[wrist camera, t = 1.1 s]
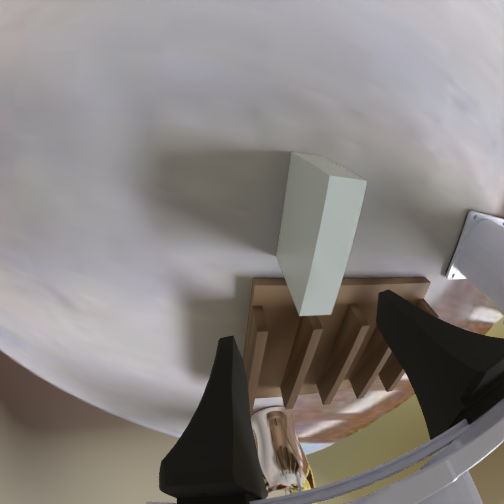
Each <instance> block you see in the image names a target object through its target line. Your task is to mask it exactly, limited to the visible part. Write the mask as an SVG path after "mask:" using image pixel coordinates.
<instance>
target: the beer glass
mask: <svg viewBox="0 0 504 504" xmlns="http://www.w3.org/2000/svg"><path fill="white" fill-rule="evenodd" d="M251 424H252V428H253V430H254V433H255V437H256V444H257V453H258V458H259V462H260V466H261V470H262V474H263V478H264V482H265V485H266V489H267V492H268V496H267V498H266V499H268V498H274V497H279V496H284V495H289V494H293V493H298V492H302V491H306V490H310V489H313V488H316V486H315V481H314V477H313V473H312V470H311V468H310V465H309V463H308V460H307V459H306V456H305V454H304V452H303V450H302V448H301V446H300V443H299V441H298V438H297V435H296V430H295V413H294V411H293V410H292V409H285V407H283V406H275V407H269V408H265V409H262V410H259V411H257V412H256V413H254V414H253V415H252V416H251ZM314 504H318V502H317V503H314Z"/></svg>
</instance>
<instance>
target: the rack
mask: <svg viewBox="0 0 504 504" xmlns="http://www.w3.org/2000/svg"><path fill="white" fill-rule="evenodd" d="M430 283H431V282H430V281H429V280H428V279H427V278H426V277H424V278H372V279H342V282H341V285H340V289H339V292H338V295H337V298H336V301H335V304H334V307H333V310H332V313H331V315H313V316H299V314H298V311H297V309H296V306H295V304H294V301H293V298H292V296H291V293H290V291H289V288H288V285H287V283H286V280H285V279H278V278H253V286H252V294H251V302H250V311H249V319H248V327H247V335H246V343H245V351H244V359H243V362H244V367H245V372H246V377H247V383H248V394H249V405H250V412H252V410H253V405H254V400H255V398H269V397H282V398H283V402H284V407H285V409H293V406H294V404H295V402H296V399H297V397H298V395H303V394H312V393H319V394H320V397H321V400H322V403H323V405H325V404H330V403H331V401H332V399H333V397H334V396H335V394H336V392H337V390H340V389H346V388H353V390H354V392H355V395H356V397H357V399H359V398H363V397H364V396H365V394H366V393H367V391H368V390H369V388H370V386H371V385H372V384H373V383H377V382H378V380H379V379H381V381H382V383H383V385H384V387H385V389H386V391H387V392H389V391H392V390H393V389H394V387H395V386H396V385H397V383H398V382H399V380H400V379H401V378H402V376H403V375H404V373H405V371H404V369H403V368H402V366H401V365H400V363H399V361H398V360H397V358H396V357H395V355H394V354H393V352H392V351H391V349H390V348H389V346H388V345H387V343H386V341H385V340H384V338H383V336H382V334H381V332H380V330H379V328H378V326H377V324H376V315H377V305H378V293H380V292H382V291H385V290H388V289H389V290H391V291H393V292H394V293H396V294H398V295H399V296H401V297H402V298H404V299H406V300H407V301H409V302H410V303H412V304H414V305H415V306H417V307H419V308H420V309H422V310H424V311H426V312H427V313H429V314H431V315H433V316H435V317H437V318H438V317H439V316H438V315H437V314H436V313H435V312H434V310H433V309H432V308H431V307H430V306H429V304H428V303H427V302H426V301H425V300H424V297H425V295H426V292H427V290H428V288H429V286H430Z"/></svg>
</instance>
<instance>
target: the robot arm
mask: <svg viewBox="0 0 504 504" xmlns="http://www.w3.org/2000/svg"><path fill="white" fill-rule="evenodd" d="M446 278H447V279H468V280H469V281H470V282H471V283H472V284H473V285H474V286H475V287H476V288H477V289H478V290H479V291H480V292H481V293H482V294H483V295H484V296H485V297H486V298H487V299H488V300H489V301H490V302H491V303H492V304H493V305H494V306H495V307H496V308H497V309H498V310H499V311H500V312H501V313H502V314H503V315H504V219H503V218H499V217H496V216H492V215H488V214H484V213H480V212H476V211H470V212H469V213H468V216H467V219H466V222H465V225H464V228H463V231H462V234H461V237H460V240H459V243H458V245H457V248H456V251H455V253H454V256H453V259H452V261H451V264H450V266H449V269H448V271H447V273H446ZM376 324H377V326H378V328H379V330H380V332H381V334H382V336H383V338H384V340H385V341H386V343H387V345H388V346H389V348H390V349H391V351H392V352H393V354H394V355H395V357H396V358H397V360H398V361H399V363H400V365H401V366H402V368H403V369H404V371H405V373H406V374H407V376H408V378H409V380H410V383H411V385H412V387H413V389H414V391H415V394H416V396H417V398H418V401H419V404H420V406H421V409H422V412H423V415H424V418H425V421H426V425H427V428H428V432H429V435H430V441H428V442H427V443H425V444H423V445H421V446H419V447H417V448H416V449H414V450H412V451H410V452H408V453H406V454H404V455H402V456H400V457H397V458H395V459H393V460H391V461H389V462H387V463H384V464H382V465H380V466H377V467H375V468H372V469H370V470H367V471H365V472H362V473H360V474H357V475H355V476H352V477H349V478H346V479H343V480H340V481H337V482H334V483H331V484H327V485H324V486H321V487H317V488H313V489H310V490H306V491H302V492H298V493H293V494H289V495H284V496H279V497H274V498H268V499H266V498H267V496H268V492H267V489H266V485H265V482H264V478H263V474H262V470H261V466H260V462H259V458H258V453H257V449H256V445H255V440H254V435H253V430H252V424H251V416H250V405H249V394H248V383H247V377H246V372H245V367H244V362H243V360H242V357H241V355H240V352H239V350H238V347H237V345H236V342H235V339H234V337H233V336H229V337H224V338H220V339H219V341H218V347H217V352H216V357H215V361H214V364H213V368H212V371H211V375H210V378H209V381H208V383H207V386H206V389H205V392H204V394H203V397H202V399H201V401H200V403H199V406H198V408H197V410H196V412H195V414H194V415H193V417H192V419H191V421H190V423H189V425H188V426H187V428H186V429H185V431H184V432H183V434H182V435H181V437H180V438H179V440H178V441H177V443H176V444H175V446H174V447H173V448H172V449H171V451H170V452H169V453H168V454H167V455H166V457H165V458H164V459H163V460H162V461H161V466H160V472H159V488H160V490H161V491H162V492H164V493H166V494H168V495H170V496H173V497H175V498H177V504H314V503H317V502H321V501H324V500H328V499H331V498H334V497H337V496H341V495H343V494H347V493H350V492H352V491H355V490H358V489H361V488H363V487H366V486H368V485H371V484H373V483H375V482H378V481H381V480H383V479H385V478H388V477H390V476H392V475H394V474H396V473H398V472H400V471H403V470H405V469H406V468H408V467H410V466H413V465H414V464H416V463H418V462H420V461H422V460H424V459H426V458H427V457H429V456H431V455H432V454H434V453H436V452H438V451H439V450H441V449H443V448H444V447H446V446H447V447H446V448H444V449H443V450H442V451H440V452H439V453H437V454H436V455H434V456H433V457H432V458H431V459H430V460H429V461H428V462H427V463H426V464H424V465H423V466H422V467H421V468H420V471H418V472H416V473H414V474H412V475H410V476H408V477H406V478H404V479H402V480H400V481H398V482H396V483H393V484H391V485H389V486H387V487H385V488H382V489H380V490H378V491H376V492H373V493H371V494H368V495H366V496H363V497H361V498H358V499H356V500H353V501H350V502H348V503H345V504H483V503H482V500H481V498H480V496H479V493H478V491H477V489H476V487H475V484H474V482H473V480H472V478H471V476H470V474H469V472H468V470H469V469H470V468H472V467H473V466H475V465H476V464H477V463H478V462H480V461H481V460H482V459H484V458H485V457H486V456H487V455H488V454H490V453H491V452H492V451H493V450H494V449H495V448H497V447H498V446H499V445H500V444H501V443H502V442H504V339H503V338H495V337H489V336H485V335H481V334H477V333H473V332H470V331H467V330H464V329H461V328H459V327H456V326H454V325H451V324H449V323H447V322H445V321H443V320H440V319H439V318H437V317H435V316H433V315H431V314H429V313H427V312H426V311H424V310H422V309H420V308H419V307H417V306H415V305H414V304H412V303H410V302H409V301H407V300H406V299H404V298H402V297H401V296H399V295H398V294H396V293H394V292H393V291H391V290H389V289H388V290H385V291H382V292H380V293H378V305H377V315H376ZM503 324H504V321H503ZM146 504H176V503H165V502H147V503H146Z"/></svg>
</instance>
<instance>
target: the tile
mask: <svg viewBox="0 0 504 504" xmlns="http://www.w3.org/2000/svg"><path fill="white" fill-rule="evenodd" d="M366 185H367V181H366V180H365V179H363V178H361V177H359V176H357V175H356V174H354V173H352V172H350V171H348V170H346V169H345V168H343V167H341V166H339V165H337V164H335V163H333V162H331V161H329V160H327V159H325V158H323V157H321V156H319V155H313V154H306V153H298V152H291V157H290V164H289V172H288V179H287V186H286V193H285V200H284V207H283V214H282V220H281V227H280V234H279V240H278V247H277V253H276V257H277V260H278V263H279V265H280V268H281V270H282V273H283V275H284V278H285V280H286V283H287V285H288V288H289V291H290V293H291V296H292V298H293V301H294V304H295V306H296V309H297V311H298V314H299V316H313V315H331V313H332V310H333V307H334V304H335V301H336V298H337V295H338V292H339V289H340V285H341V282H342V279H343V275H344V272H345V269H346V265H347V262H348V258H349V255H350V251H351V247H352V244H353V240H354V236H355V232H356V228H357V224H358V220H359V216H360V212H361V208H362V203H363V199H364V194H365V190H366Z"/></svg>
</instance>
